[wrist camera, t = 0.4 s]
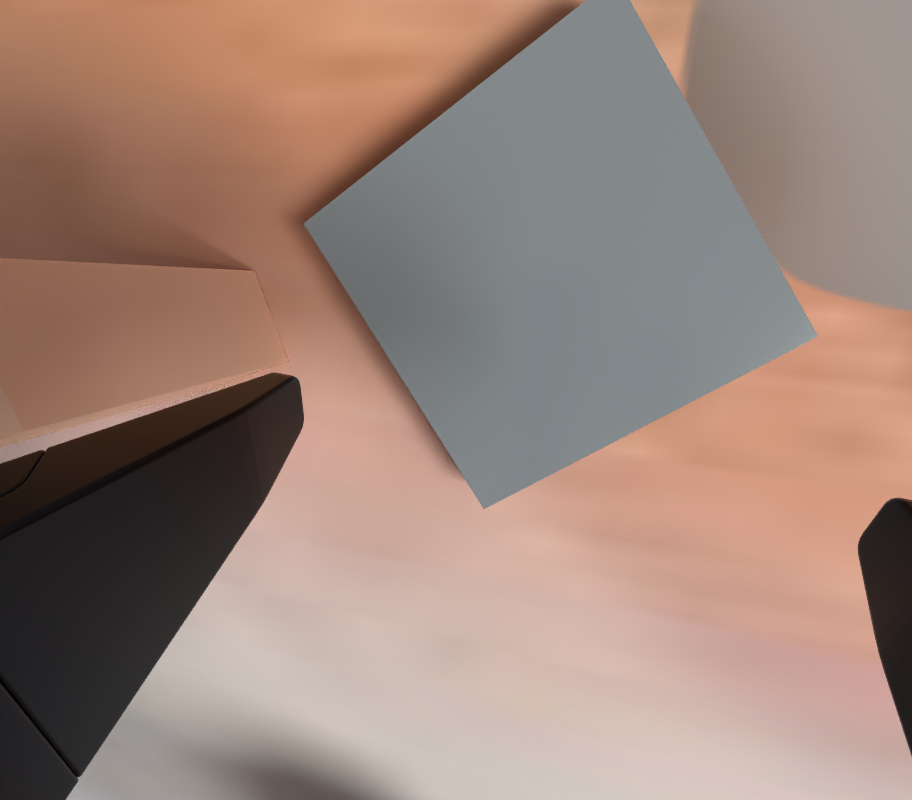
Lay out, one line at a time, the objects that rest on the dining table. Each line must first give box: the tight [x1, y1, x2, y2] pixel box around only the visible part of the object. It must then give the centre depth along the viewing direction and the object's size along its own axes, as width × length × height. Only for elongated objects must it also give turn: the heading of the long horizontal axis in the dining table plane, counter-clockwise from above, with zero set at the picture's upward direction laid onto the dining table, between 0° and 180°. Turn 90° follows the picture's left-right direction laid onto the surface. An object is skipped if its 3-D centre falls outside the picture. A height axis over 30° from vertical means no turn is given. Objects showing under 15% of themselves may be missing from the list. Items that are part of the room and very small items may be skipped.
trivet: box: [303, 0, 818, 509], centre depth 21 cm, size 14×14×2 cm
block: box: [0, 258, 289, 447], centre depth 19 cm, size 4×4×13 cm
